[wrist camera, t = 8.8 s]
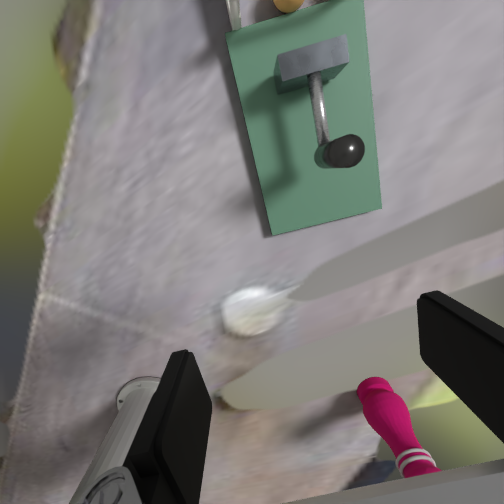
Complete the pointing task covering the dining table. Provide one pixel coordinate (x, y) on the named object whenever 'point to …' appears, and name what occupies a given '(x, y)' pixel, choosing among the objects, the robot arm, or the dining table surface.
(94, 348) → the dining table surface
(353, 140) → the grey mallet
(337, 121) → the pitch board
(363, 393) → the pepper mill
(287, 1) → the ball
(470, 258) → the dining table surface
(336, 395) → the dining table surface
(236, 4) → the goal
